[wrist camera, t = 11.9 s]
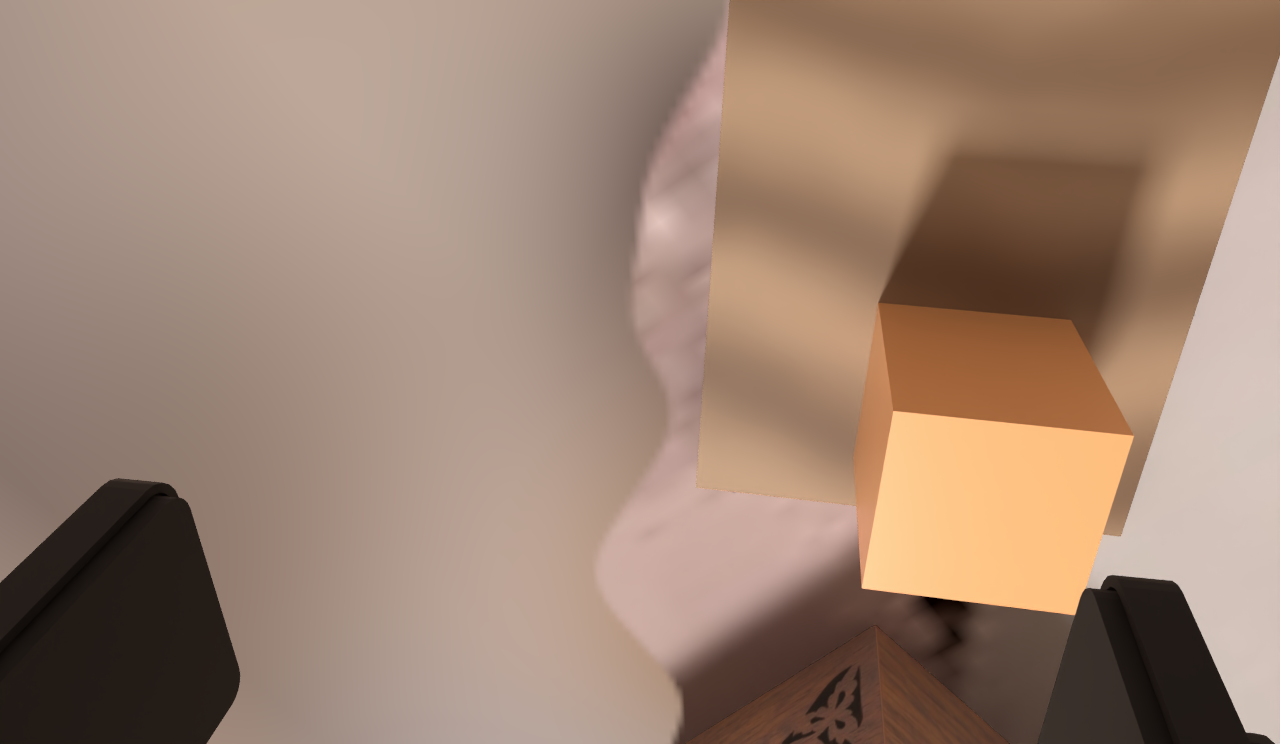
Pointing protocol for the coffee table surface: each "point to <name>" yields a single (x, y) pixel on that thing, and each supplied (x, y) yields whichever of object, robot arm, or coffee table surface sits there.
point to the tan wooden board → (962, 201)
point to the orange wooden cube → (984, 458)
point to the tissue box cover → (856, 704)
